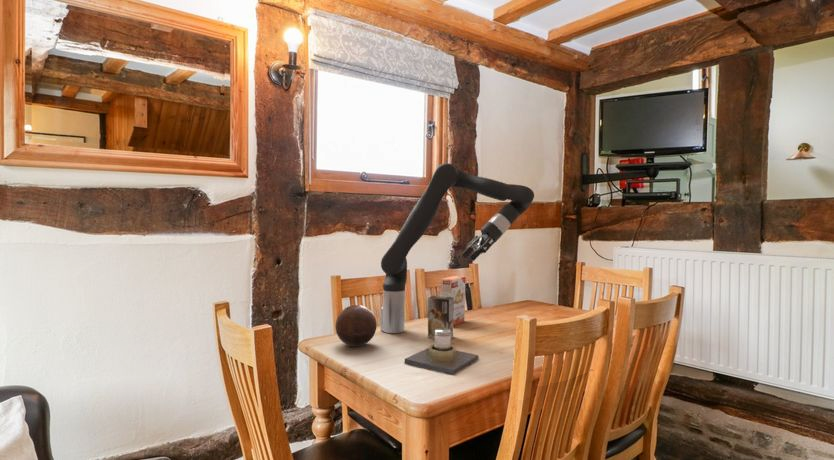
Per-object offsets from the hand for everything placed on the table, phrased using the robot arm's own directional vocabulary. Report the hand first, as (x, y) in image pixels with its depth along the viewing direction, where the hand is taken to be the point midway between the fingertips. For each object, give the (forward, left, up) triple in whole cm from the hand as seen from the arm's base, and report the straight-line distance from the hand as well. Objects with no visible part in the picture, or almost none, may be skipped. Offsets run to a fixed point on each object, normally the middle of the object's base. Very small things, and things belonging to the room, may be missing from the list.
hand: (467, 258), depth 168 cm
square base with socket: (+3, -23, -33) cm, 40 cm away
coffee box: (-12, +2, -33) cm, 35 cm away
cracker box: (-19, +25, -33) cm, 46 cm away
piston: (+3, -23, -31) cm, 39 cm away
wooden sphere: (-32, -26, -33) cm, 53 cm away
